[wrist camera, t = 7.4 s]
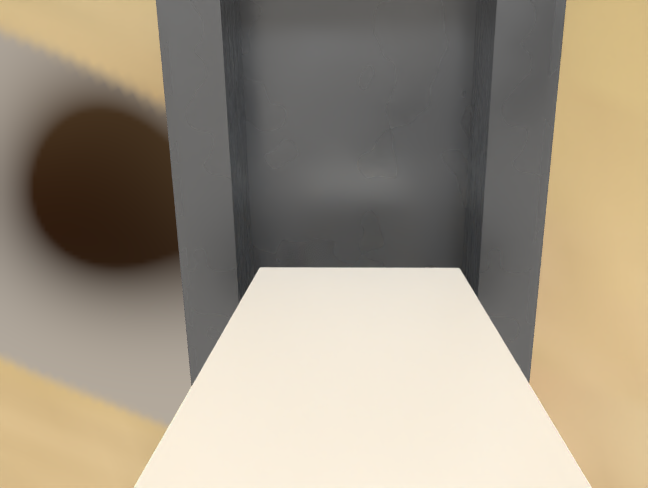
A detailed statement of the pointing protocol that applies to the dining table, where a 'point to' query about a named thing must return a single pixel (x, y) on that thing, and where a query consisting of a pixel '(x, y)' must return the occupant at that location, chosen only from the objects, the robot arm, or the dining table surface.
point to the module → (361, 392)
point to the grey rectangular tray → (360, 145)
